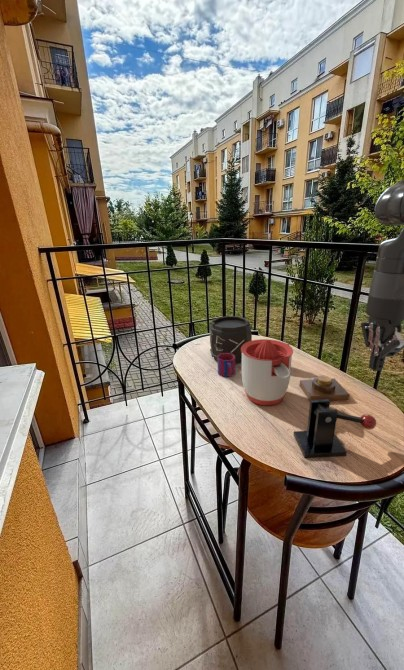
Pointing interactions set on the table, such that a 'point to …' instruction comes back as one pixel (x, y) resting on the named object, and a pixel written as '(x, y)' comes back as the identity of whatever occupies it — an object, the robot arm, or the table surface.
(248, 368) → the citrus juicer
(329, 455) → the black bracket
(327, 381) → the button
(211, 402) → the table surface
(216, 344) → the dark grey cylinder
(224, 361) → the mug
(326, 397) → the block
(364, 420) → the red-knob lever
